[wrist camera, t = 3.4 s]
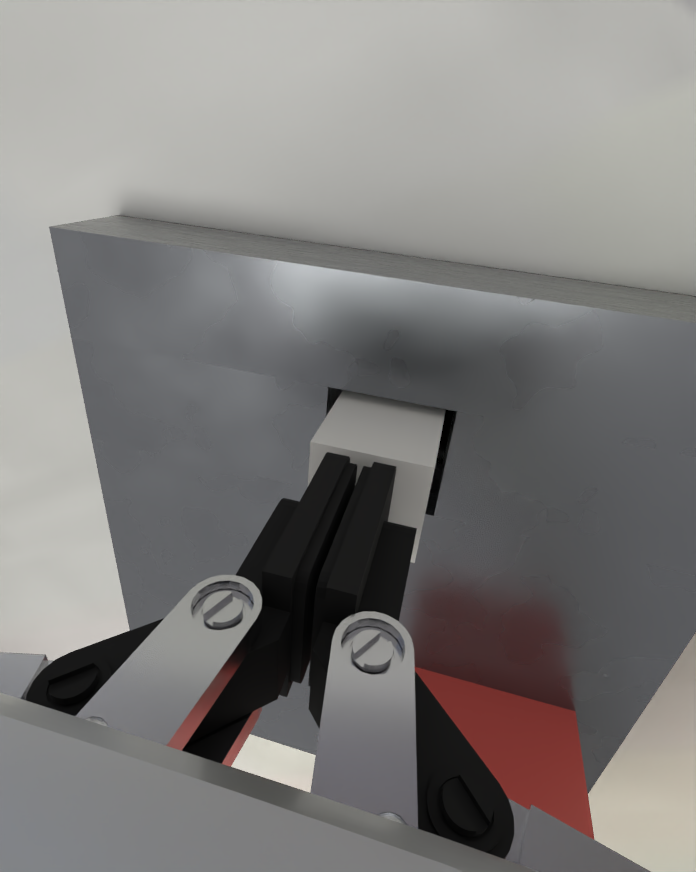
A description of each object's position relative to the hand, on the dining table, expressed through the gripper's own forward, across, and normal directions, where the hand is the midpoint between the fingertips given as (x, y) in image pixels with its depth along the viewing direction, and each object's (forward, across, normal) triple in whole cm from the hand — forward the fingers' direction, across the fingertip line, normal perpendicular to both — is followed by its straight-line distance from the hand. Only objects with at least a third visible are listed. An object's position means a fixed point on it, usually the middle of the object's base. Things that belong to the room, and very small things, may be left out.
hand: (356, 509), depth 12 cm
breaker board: (+6, 0, +6) cm, 9 cm away
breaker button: (+5, 0, 0) cm, 5 cm away
